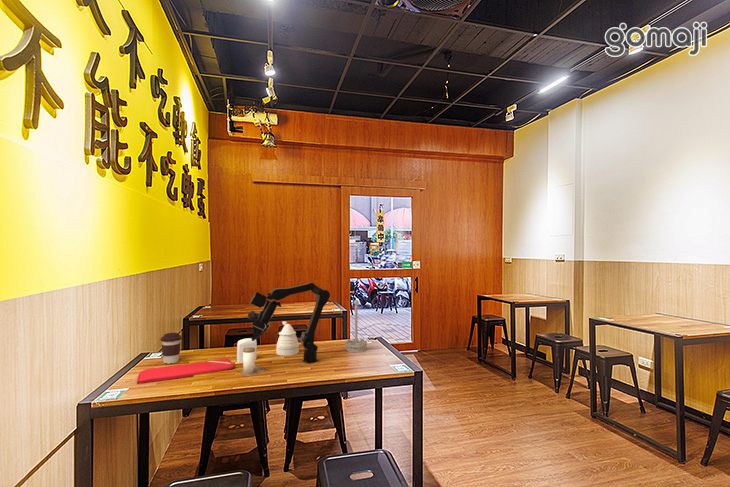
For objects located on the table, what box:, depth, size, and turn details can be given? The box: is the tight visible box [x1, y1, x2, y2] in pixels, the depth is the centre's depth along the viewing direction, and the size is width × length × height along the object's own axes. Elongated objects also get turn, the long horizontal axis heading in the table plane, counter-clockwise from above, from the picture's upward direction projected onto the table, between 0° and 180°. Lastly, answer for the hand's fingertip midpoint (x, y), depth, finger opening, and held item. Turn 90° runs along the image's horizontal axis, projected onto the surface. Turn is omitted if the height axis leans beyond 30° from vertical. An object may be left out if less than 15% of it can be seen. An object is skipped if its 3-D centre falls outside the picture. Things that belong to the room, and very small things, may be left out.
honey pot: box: [275, 320, 300, 357], centre depth 219 cm, size 13×13×18 cm
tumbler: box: [242, 347, 256, 374], centre depth 181 cm, size 6×6×11 cm
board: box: [235, 365, 269, 377], centre depth 182 cm, size 12×10×1 cm
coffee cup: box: [160, 332, 183, 365], centre depth 200 cm, size 10×10×15 cm
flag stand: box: [344, 299, 368, 353], centre depth 225 cm, size 13×13×30 cm
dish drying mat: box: [136, 358, 235, 385], centre depth 182 cm, size 16×41×4 cm, turn 117°
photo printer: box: [236, 337, 258, 363], centre depth 200 cm, size 10×4×12 cm, turn 123°
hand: (254, 340), depth 190 cm, fingers open, 9 cm apart
